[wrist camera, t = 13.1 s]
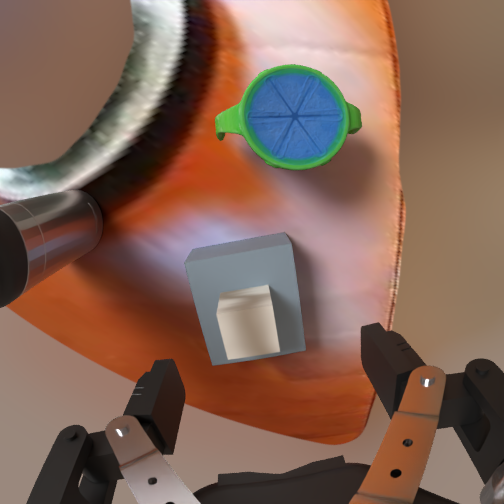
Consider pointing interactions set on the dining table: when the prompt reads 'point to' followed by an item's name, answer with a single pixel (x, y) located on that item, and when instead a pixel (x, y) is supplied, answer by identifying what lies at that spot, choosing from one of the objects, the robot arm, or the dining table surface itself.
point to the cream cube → (247, 322)
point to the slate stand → (247, 276)
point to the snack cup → (292, 117)
